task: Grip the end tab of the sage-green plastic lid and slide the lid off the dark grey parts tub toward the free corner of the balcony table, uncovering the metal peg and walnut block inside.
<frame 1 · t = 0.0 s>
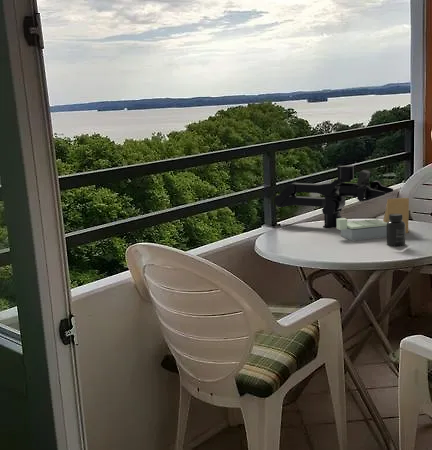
hand: (389, 191, 263), 17 cm above the table, tool horizontal, fingers open, 9 cm apart
tub: (364, 237, 257), on the table
metal peg: (369, 234, 259), point 1 cm above the table, touching tub
walnut block: (358, 237, 255), point 1 cm above the table, touching tub
sandwich container: (394, 231, 267), on the table
lid: (360, 222, 255), point 6 cm above the table, slide at 0.0 cm
supplement bottle: (395, 246, 241), on the table
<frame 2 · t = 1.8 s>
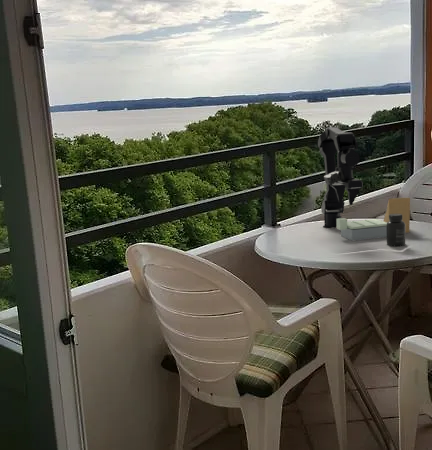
hand: (345, 203, 258), 13 cm above the table, tool pointing down, fingers open, 9 cm apart
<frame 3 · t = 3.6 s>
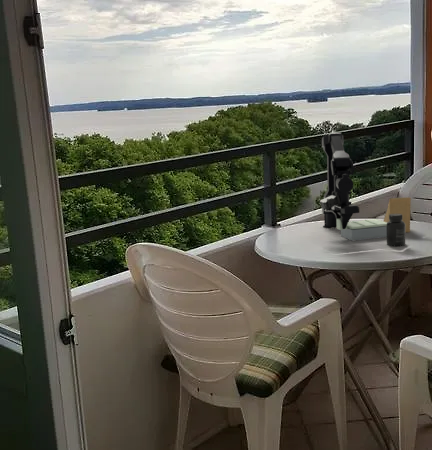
hand: (342, 228, 254), 5 cm above the table, tool pointing down, fingers closed on lid, 3 cm apart
lid: (360, 222, 255), point 7 cm above the table, slide at 0.0 cm, touching gripper
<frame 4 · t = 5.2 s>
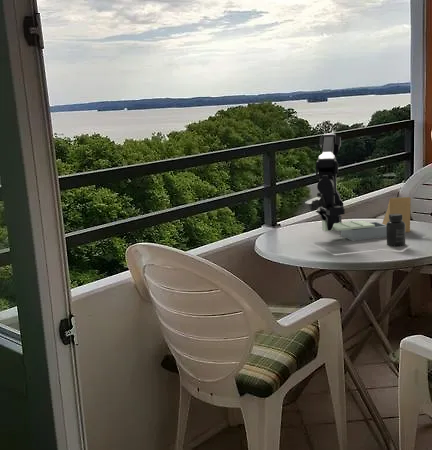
hand: (327, 229, 252), 5 cm above the table, tool pointing down, fingers closed on lid, 3 cm apart
lid: (346, 223, 254), point 6 cm above the table, slide at 6.1 cm, touching gripper
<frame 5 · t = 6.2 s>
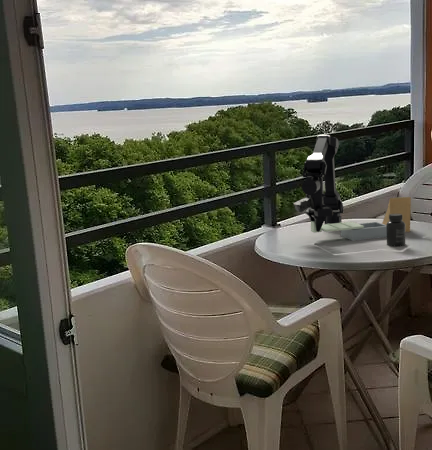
hand: (316, 230, 251), 5 cm above the table, tool pointing down, fingers closed on lid, 3 cm apart
lid: (335, 224, 253), point 7 cm above the table, slide at 10.9 cm, touching gripper
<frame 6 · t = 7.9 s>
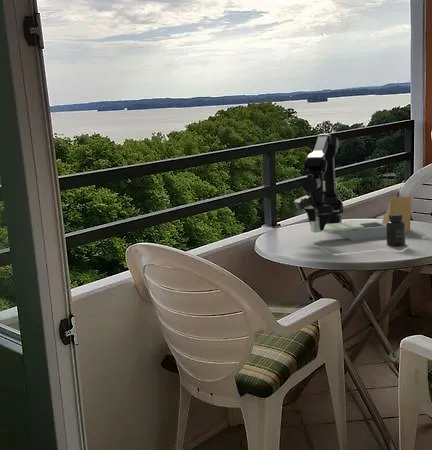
hand: (316, 228, 251), 6 cm above the table, tool pointing down, fingers open, 9 cm apart
lid: (335, 224, 253), point 7 cm above the table, slide at 11.0 cm
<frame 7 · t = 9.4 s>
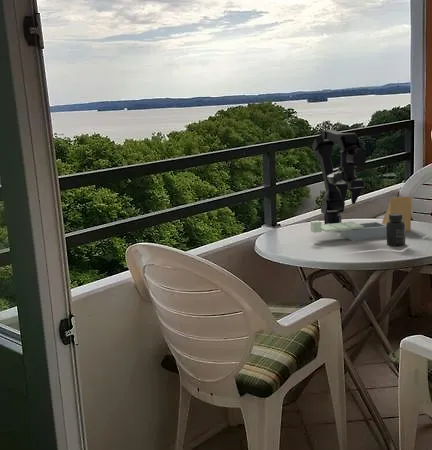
hand: (348, 202, 263), 13 cm above the table, tool pointing down, fingers open, 9 cm apart
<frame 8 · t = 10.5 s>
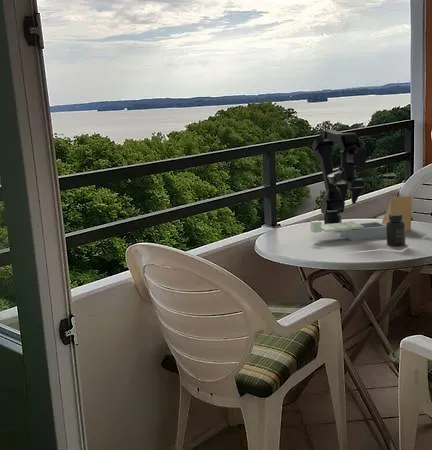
hand: (348, 202, 263), 13 cm above the table, tool pointing down, fingers open, 9 cm apart
at the end: lid slide at 11.0 cm; the gripper is holding nothing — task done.
